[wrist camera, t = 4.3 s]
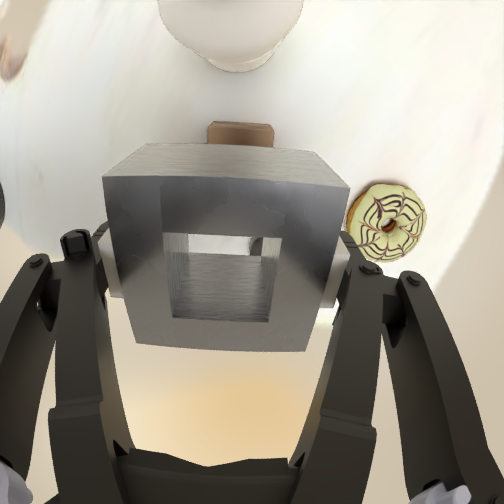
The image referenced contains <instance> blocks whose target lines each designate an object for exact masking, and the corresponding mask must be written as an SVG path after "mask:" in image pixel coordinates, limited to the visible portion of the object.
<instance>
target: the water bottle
mask: <svg viewBox="0 0 504 504" xmlns="http://www.w3.org/2000/svg"><path fill="white" fill-rule="evenodd" d="M303 1H304V0H157V2H158V8H159V13H160V16H161V19H162V21H163V24H164V25H165V27H166V28H167V29H168V31H169V32H170V33H171V34H172V36H173V37H174V38H175V39H176V40H178V41H179V42H180V43H182V44H183V45H184V46H186V47H188V48H190V49H192V50H193V51H194V52H195V53H197V54H198V55H199V56H201V57H203V58H206V59H207V60H208V61H209V62H210V63H211V64H212V65H214V66H215V67H217V68H219V69H222V70H225V71H229V72H245V71H250V70H253V69H255V68H257V67H259V66H261V65H262V64H264V63H265V62H266V61H267V60H268V59H269V58H270V57H271V55H272V54H273V52H274V50H276V48H277V47H278V46H279V45H280V44H281V42H282V41H283V39H284V38H285V36H286V35H287V34H288V33H289V32H290V31H291V30H292V28H293V27H294V26H295V25H296V23H297V21H298V19H299V17H300V14H301V11H302V8H303Z"/></svg>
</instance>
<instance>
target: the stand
mask: <svg viewBox="0 0 504 504" xmlns="http://www.w3.org/2000/svg"><path fill="white" fill-rule="evenodd" d="M273 140H274V130H273V129H272V127H271V125H267V124H255V123H240V122H219V121H214V122H213V123H212V124H211V125H210V126H209V127H208V134H207V144H225V145H244V146H258V147H271V148H273Z"/></svg>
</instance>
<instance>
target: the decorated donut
mask: <svg viewBox="0 0 504 504" xmlns="http://www.w3.org/2000/svg"><path fill="white" fill-rule="evenodd" d="M389 218H392V219H393V220H394V221H393V223H392V224H391V225H390V226H389V227H387V228H381V225H382V223H383V222H384V221H385V220H386V219H389ZM347 220H348V223H347V229H348V233H349V235H351V236H352V237H353V239H354V241H355V242H356V244H357V245H358V247H359V249H360V250H361V252H362V254H363V255H364V257H366V258H367V259H369V260H372V261H375V262H393V261H395V260H398V259H399V258H401V257H403V256H405V255H406V254H408V253H409V252H410V251H411V250H412V249H413V248H414V247H415V246H416V245H417V243H418V242H419V240H420V238H421V235H422V233H423V230H424V228H425V225H426V220H427V215H426V211H425V207H424V205H423V203H422V201H421V200H420V198H418V197H417V195H416V193H415V192H414V191H412V190H411V189H410V188H408V187H403V186H400V185H394V184H393V185H385V184H376V185H374V186H372V187H371V188H370V189H369V190H368V191H367V192H365V193H364V194H363V195H362V196H361V197H359V198H358V199H357V201H356V202H355V203H354V205H353V206H352V208H351V209H350V211H349V214H348V217H347Z"/></svg>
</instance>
